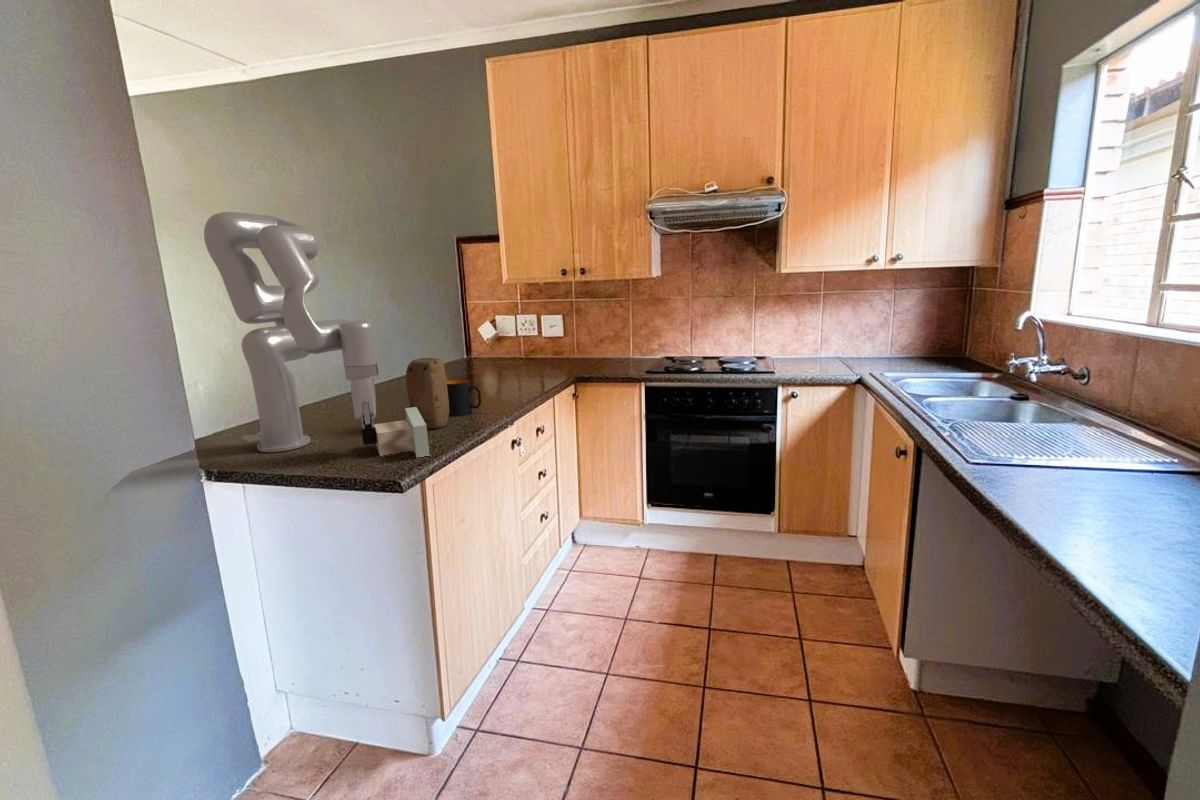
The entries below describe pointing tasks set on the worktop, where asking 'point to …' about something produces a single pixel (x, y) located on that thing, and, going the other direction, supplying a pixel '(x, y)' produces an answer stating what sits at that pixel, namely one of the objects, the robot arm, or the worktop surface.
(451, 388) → the mug
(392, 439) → the beech block
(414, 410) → the sage board
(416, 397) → the brown rounded tall lump
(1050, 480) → the worktop surface
